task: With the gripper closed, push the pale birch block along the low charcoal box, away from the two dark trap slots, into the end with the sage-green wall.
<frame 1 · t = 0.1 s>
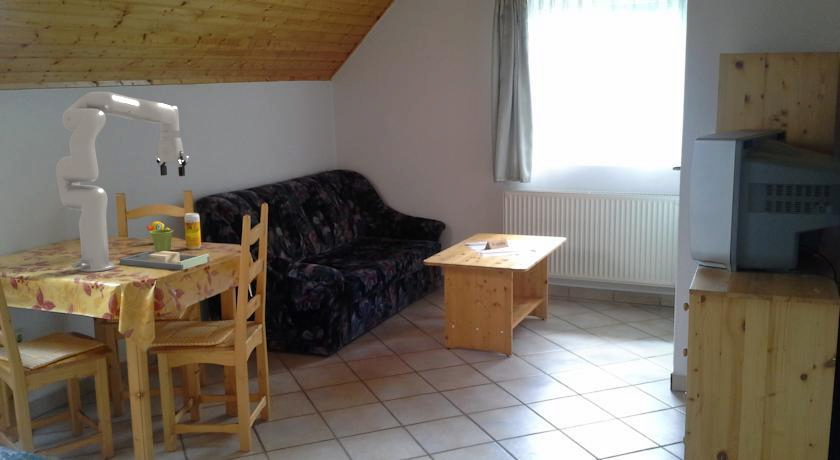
hand: (172, 175, 326), 31 cm above the table, tool pointing down, fingers open, 9 cm apart
birch block: (164, 263, 300), resting in trap box
plant pot: (162, 251, 323), on the table
beer can: (193, 248, 329), on the table
trap box: (164, 262, 300), on the table
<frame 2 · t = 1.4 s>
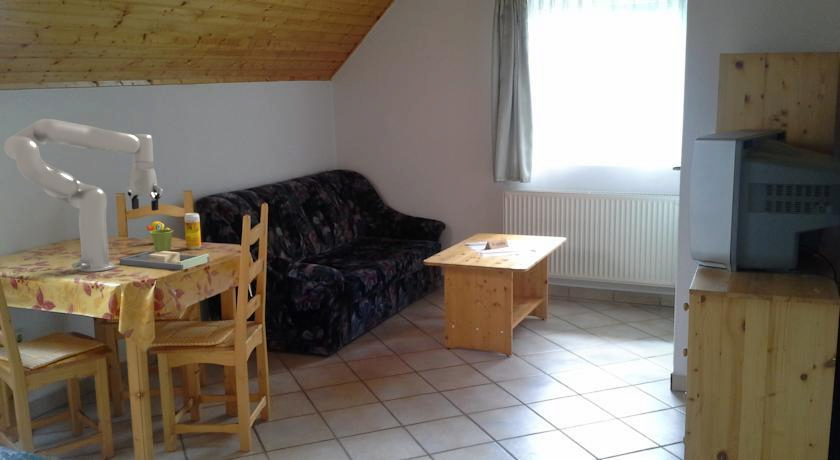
hand: (145, 209, 301), 20 cm above the table, tool pointing down, fingers open, 9 cm apart
nothing on the table moved.
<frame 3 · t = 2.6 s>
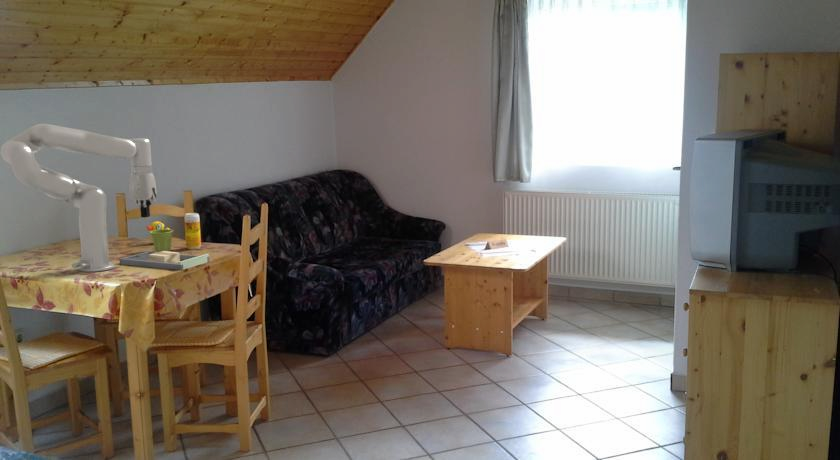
hand: (145, 216, 300), 18 cm above the table, tool pointing down, fingers closed
nothing on the table moved.
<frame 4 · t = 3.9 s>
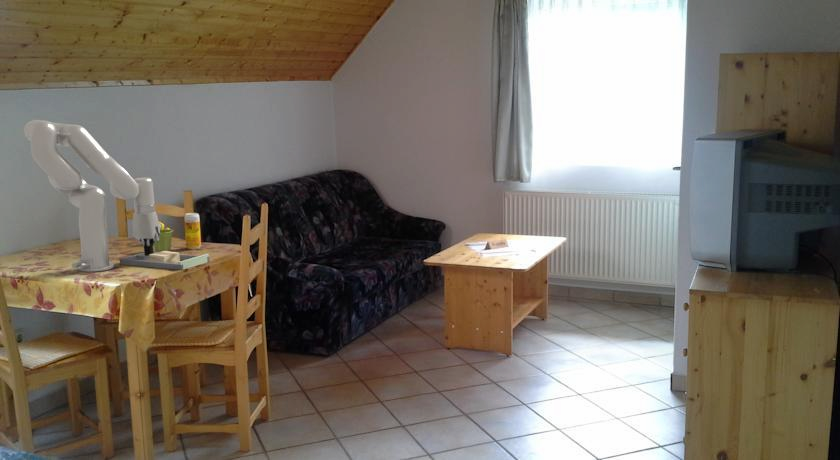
hand: (149, 254, 303), 2 cm above the table, tool pointing down, fingers closed
nothing on the table moved.
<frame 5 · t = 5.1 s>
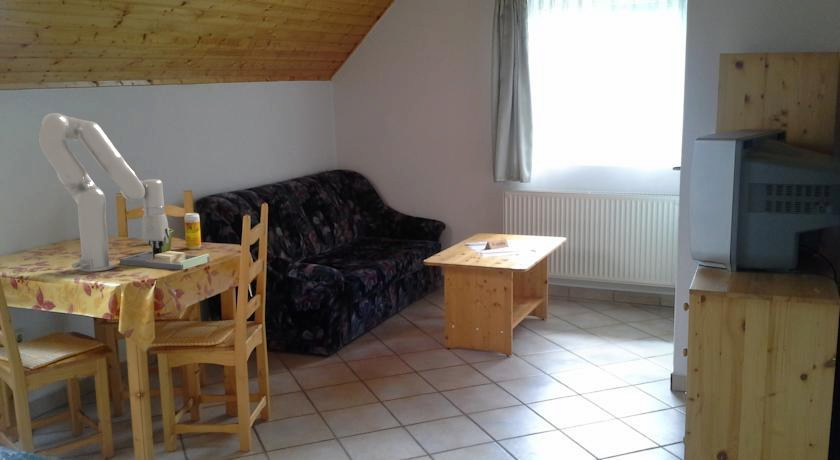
hand: (157, 257, 301), 2 cm above the table, tool pointing down, fingers closed
birch block: (170, 263, 299), resting in trap box
everything else where it was.
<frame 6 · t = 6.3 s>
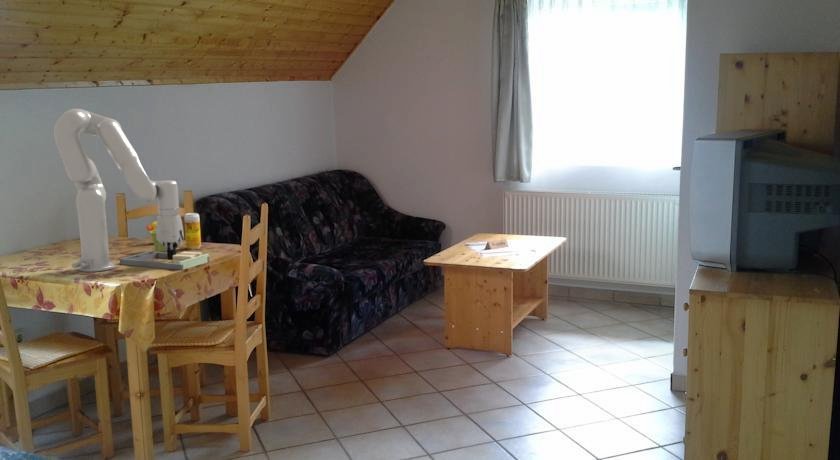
hand: (172, 259, 298), 2 cm above the table, tool pointing down, fingers closed
birch block: (187, 264, 299), resting in trap box, touching gripper
everything else where it was.
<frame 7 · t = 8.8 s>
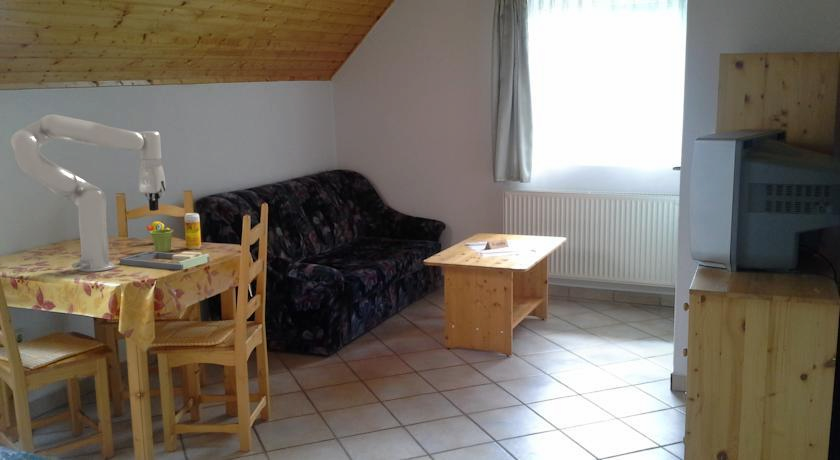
hand: (154, 210, 299), 20 cm above the table, tool pointing down, fingers closed
birch block: (187, 264, 299), resting in trap box
everything else where it was.
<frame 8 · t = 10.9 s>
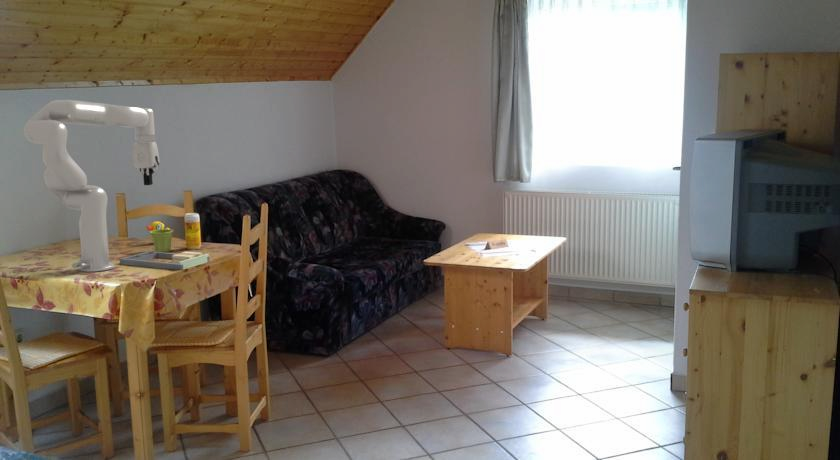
hand: (148, 184, 310), 29 cm above the table, tool pointing down, fingers closed
nothing on the table moved.
at the end: birch block inside the target area (2.5 cm from its centre), resting in trap box; birch block tilted 0°; birch block moved 9.5 cm from its start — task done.
